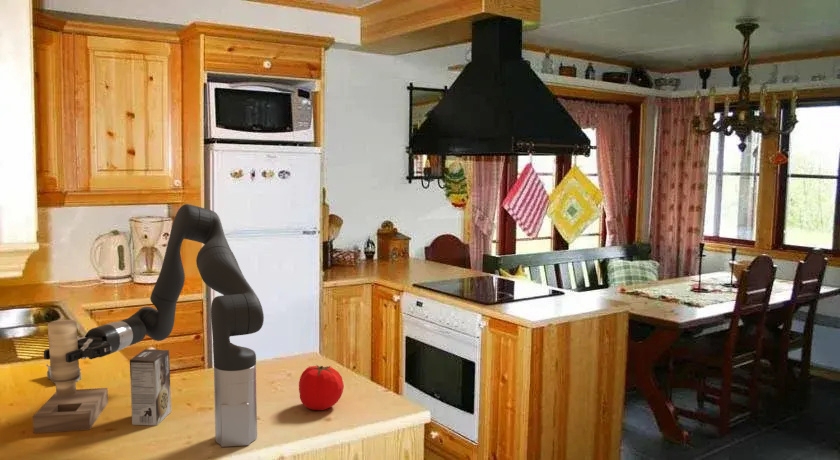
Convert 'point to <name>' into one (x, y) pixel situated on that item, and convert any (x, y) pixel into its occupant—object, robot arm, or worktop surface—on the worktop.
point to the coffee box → (150, 387)
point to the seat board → (71, 411)
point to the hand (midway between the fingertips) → (56, 356)
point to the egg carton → (50, 374)
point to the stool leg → (63, 355)
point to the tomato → (320, 387)
